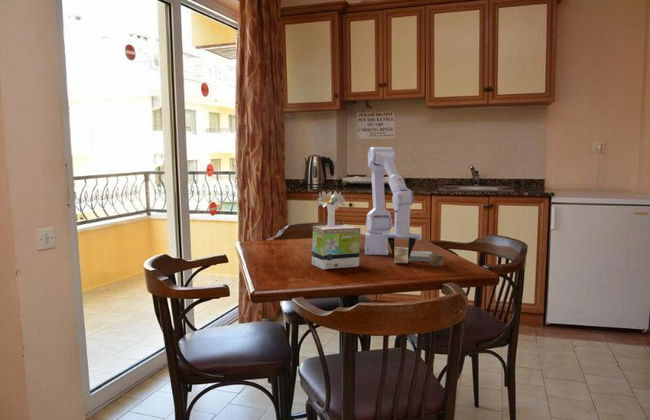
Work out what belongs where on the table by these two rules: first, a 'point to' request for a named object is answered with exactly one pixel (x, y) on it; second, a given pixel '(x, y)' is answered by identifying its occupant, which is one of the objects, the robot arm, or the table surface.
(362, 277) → the table surface
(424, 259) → the plate
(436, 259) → the walnut block
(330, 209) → the flower vase
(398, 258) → the maple cube
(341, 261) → the tea box
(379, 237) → the robot arm
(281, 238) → the table surface
